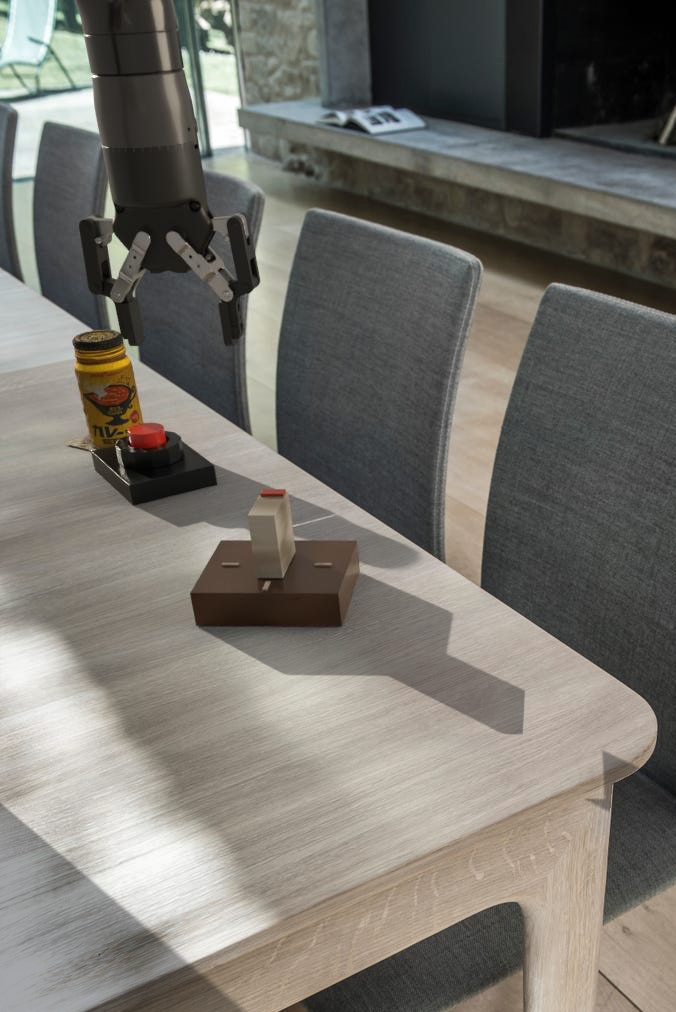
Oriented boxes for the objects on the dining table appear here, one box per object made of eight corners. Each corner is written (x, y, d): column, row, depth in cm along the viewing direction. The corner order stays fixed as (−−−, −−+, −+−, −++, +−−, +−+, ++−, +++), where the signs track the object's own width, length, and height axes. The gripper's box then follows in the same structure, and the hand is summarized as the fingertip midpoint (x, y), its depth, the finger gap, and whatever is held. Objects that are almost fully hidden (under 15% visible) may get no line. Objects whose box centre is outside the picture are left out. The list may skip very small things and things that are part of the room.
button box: (95, 470, 123) (86, 434, 121) (175, 452, 127) (168, 416, 125) (133, 506, 115) (125, 467, 112) (217, 485, 119) (211, 447, 116)
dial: (283, 578, 93) (274, 512, 90) (256, 578, 94) (246, 512, 90) (295, 552, 97) (287, 488, 94) (270, 551, 98) (261, 487, 94)
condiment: (117, 457, 126) (94, 347, 119) (64, 445, 130) (38, 337, 123) (164, 437, 131) (145, 330, 125) (112, 425, 135) (90, 321, 128)
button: (126, 443, 119) (122, 427, 118) (159, 436, 121) (156, 420, 120) (138, 453, 117) (134, 436, 116) (171, 446, 118) (168, 429, 117)
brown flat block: (195, 625, 93) (189, 591, 92) (225, 571, 102) (220, 538, 100) (341, 626, 93) (338, 591, 91) (360, 571, 101) (357, 538, 99)
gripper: (43, 145, 89) (90, 357, 98) (223, 141, 87) (253, 356, 96) (81, 133, 95) (121, 332, 104) (249, 128, 94) (275, 331, 102)
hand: (185, 343), depth 100 cm, fingers open, 8 cm apart
